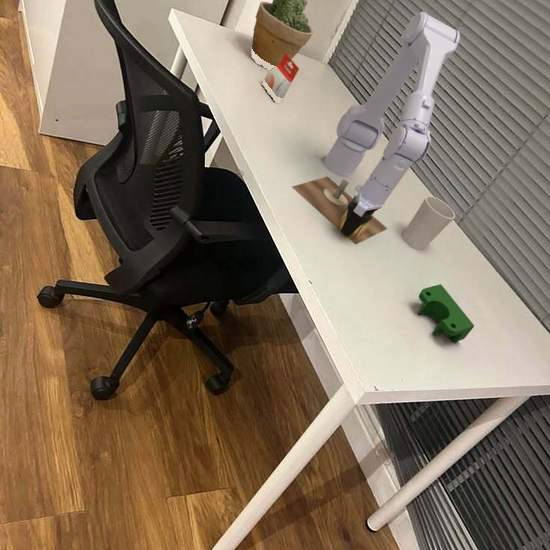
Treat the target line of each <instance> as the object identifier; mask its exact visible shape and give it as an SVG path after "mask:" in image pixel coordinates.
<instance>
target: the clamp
mask: <svg viewBox="0 0 550 550" xmlns="http://www.w3.org/2000/svg"><path fill="white" fill-rule="evenodd" d="M418 298H419V300H420V301H421V303H422V304H423V306H422V307H421V309H420V310H419V311H418V313H417V316H418V317H420V316H424V315H425V316H429V317H431V318H433V319H434V320H435V321H436V323H437V326H436V327H435V328H434V330H433V331H432V333H431V334H432V336H437V335H441V334H444V333H445V335H446V336H447V337H448V338H449V340H450V341H451V342H453V343H457V342H459V341H463V340H465V339H466V337H467V336H468V335H469V333H471V331H472V330H473V329H474V327H475V324H474V323H473V322H472V320H471V319H470V318H469V317H468V316H467V315H466V313H465V312H464V311H463V310H462V308H461V307H460V306H459V305H458V304H457V302H456V301H455V299H454V298H453V297H452V296H451V294H449V292H448V290H447V289H445V287H444V286H443V284H441V283H440V284H436V285H432V286H428V287H425V288H422V290H421V291H420V293H419V294H418Z"/></svg>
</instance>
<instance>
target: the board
mask: <svg viewBox="0 0 550 550" xmlns="http://www.w3.org/2000/svg"><path fill="white" fill-rule="evenodd" d="M348 185H349V181H347V179H342V181H341V182H340V183H339V185H338V184H337V183H336V182H335V181H333V180H332V179H331V178H330V177H328V176H324V177H322V178H318V179H313V180H310V181H307V182H304V183H301V184H296V185H293V186H291V188H292V189H293V190H295V191H296V193H298V194H299V195H300V196H301V197H302V199H303V200H305V201H306V202H308V203H309V204H310V205H311V206H312V207H313V208H314V209H316V211H318V212H319V213H320V214H321V215H322V216H323V217H324V218H325V219H326V220H327V221H329V222H330V223H331V224H332V225H333V226H334V227H336V229H338V230H339V231H340V232H341V233H342V234H343V235H344V236H345V237H347V238H348V239H349V240H350V241H351V242H352V243H353V244H355V245H358V244H360V243H362V242H364V241H366V240H368V239H370V238H372V237H375V236H376V235H378V234H380V233H382V232H384V231H386V230H388V227H387V226H385V224H383V223H382V222H381V221H379V220H378V219H377V218H376V217H375V216H374V214H373V215H372V216H371V217H373V218H372V219H371V220H370V221H369V222H370V224H369V225H368V227H367V228H366V229H365V231H364V232H363V234H362V235H361V236H360V237H359V236H358V238H357V239H355V238H354V237H351V236H347V235H346V234H344V233H343V232H342V231H341V230H340V229H339V227H340V226H339V224H338V222H339V220H340V219H341V217H342V216H343V214H344V213H345V211H346V208H347V207H348V205H349V203H350V202H351V201H352V199H353V198H354V197H351V195H350V194H349V193H347V191H346V190H345V189H346V188H347V186H348Z"/></svg>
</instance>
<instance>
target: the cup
mask: <svg viewBox="0 0 550 550" xmlns="http://www.w3.org/2000/svg"><path fill="white" fill-rule="evenodd" d="M455 218H456V214H455V212H454V210H453V209H452V208H451V207H450V206H449V205H448V204H447V203H446V202H445V201H443V200H441V199H440V198H438V197H435V196H433V195H427V196H425V198H424V200H423V202H422V203H421V204H420V206H419V207H418V210H417V212H416V213H415V214H414V216H413V217H412V219H411V221H410V222H409V223H408V225H407V227H406V228H405V229H404V231H403V232H402V234H401V236H402V239H403V241H404V242H405V243H406V244H407V245H408V246H410V248H412V249H414V250H416V251H419V252H420V251H424V250H425V249H426V248H427V247H428V246H429V244H430V243H431V242H432V241H433V240H435V239H436V237H438V236H439V234H441V232H442V231H443V230H444V229H445V228H446V227H447V226H448V225H449V224H450V223H451V222H452V221H453V220H454V219H455Z"/></svg>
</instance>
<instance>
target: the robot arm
mask: <svg viewBox="0 0 550 550" xmlns="http://www.w3.org/2000/svg"><path fill="white" fill-rule="evenodd" d="M460 35H461V34H460V31H459V30H458V29H456V28H455V29H454V28H453V27H451V26H450V25H447V24H445V23H443V22H442V21H440V20H438V19H436V17H435V18H434V17H433V16H431V15H430V14H427V12H425V11H420V12H418V13H416V14H415V15H413V16H412V18H411V20H410V21H409V23H408V24H407V26H406V28H405V29H404V30H403V32H402V34H401V35H400V38H399V41H400V43H401V44H402V46H401V48H400V50H398V53H397V54H396V56H395V58H394V59H393V61H392V62H391V63H390V65H389V66H388V69H386V72H385V73H384V75H382V77H381V79H380V80H379V82H378V84H377V86H376V87H375V88H374V90H373V92H372V93H371V95H370V96H369V97H368V99H367V101H366V102H365V103H364V104H356V105H355V104H354V105H351V106H350V107H349V108H348V109H347V111H346V112H345V113H344V114H343V115H342V116H341V117H340V120H339V121H338V122H337V123H338V124H337V126H336V130H335V131H336V136H337V138H336V140H335V142H334V144H333V145H332V147H331V149H330V150H329V152H328V153H327V155H326V156H325V158H324V160H323V164H324V166H325V167H326V169H327V170H328V171H330V172H331V173H332V174H334V175H335V176H338V177H342V178H347V177H348V176H349V175H351V174H352V173H355V172H356V170H357V169H358V167H359V165H360V164H361V162H362V161H363V159H364V157H365V156H366V152H367V151H371V150H372V149H374V148H375V147H376V146H377V144H378V143H379V140H380V138H381V136H382V134H383V132H384V131H385V120H384V118H383V116H384V114H385V112H386V111H387V109H388V108H389V107H390V105H391V104H392V102H393V101H394V99H395V97H396V96H397V95H398V93H399V92H400V90H401V89H402V87H403V86H404V84H405V83H406V82H407V80H408V78H410V76H411V74H412V73H413V71H414V70H415V68H416V67H417V71H416V76H415V82H414V87H413V92H412V93H410V94H408V95H407V96H406V98H405V100H404V101H405V102H404V104H403V105H404V106H403V108H402V112H401V116H400V120H399V123H398V126H397V128H395V129H394V130H393V131H392V133H391V134H390V136H389V139H388V142H387V145H386V146H385V147H384V150H383V152H382V154H383V156H382V157H381V158H380V160H379V162H378V163H377V165H376V166H375V168H374V169H373V171H372V172H371V174H370V175H369V176H368V178H367V179H366V181H365V182H364V184H363V185H361V184H357V185H356V186H355V187H354V191H356V192H357V195H358V204H356V203H355V202H353V201H351V202H350V203H349V205H348V211H347V217H346V220H345V222H344V224H343V227H342V230H341V231H342V232H343V233H344V234H346V235H347V236H350V235H351V234H352V233H354V232H355V231H356V229H358V228H359V227H360V226H361V225H362V224H364V223H366V222H368V221H370V220H371V219H372V218H373V217H371V216H370V215H371V214H372V213H373V212H374V213H375V212H376V211H378V210H381V208H383V207H384V205H385V203H386V201H387V200H388V198H389V197H390V195H391V194H392V193H393V191H394V190H395V188H396V187H397V186H398V184H399V183H400V181H401V180H402V178H403V177H404V176H405V174H406V173H407V172H408V170H409V169H410V168H411V166H412V164H413V163H416V164H417V163H419V162H421V161H422V160H423V159H424V158H425V156H426V155H427V154H428V151H429V149H430V146H431V142H432V138H431V135H430V134H431V130H429V125H430V123H431V119H432V115H433V111H434V106H435V100H434V98H433V97H432V94H433V92H434V89H435V86H436V83H437V80H438V78H439V74H440V72H441V70H442V67H443V64H444V63H445V62H446V61H448V60H449V59H450V57H451V56H452V55H453V54H454V52H455V50H456V49H457V47H458V45H459V43H460V38H461V37H460ZM417 65H418V66H417ZM374 213H373V214H374ZM341 231H340V232H341ZM342 232H341V233H342ZM343 233H342V234H343ZM344 234H343V235H344ZM346 235H345V236H346ZM347 236H346V237H347Z"/></svg>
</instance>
